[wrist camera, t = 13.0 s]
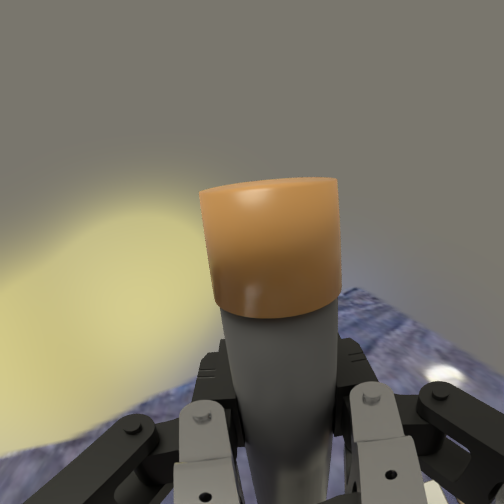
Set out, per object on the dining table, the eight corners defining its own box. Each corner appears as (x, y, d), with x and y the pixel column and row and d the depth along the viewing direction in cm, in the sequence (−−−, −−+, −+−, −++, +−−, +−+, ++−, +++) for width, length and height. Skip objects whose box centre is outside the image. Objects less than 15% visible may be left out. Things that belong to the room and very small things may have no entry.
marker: (257, 535, 10) (186, 199, 6) (256, 482, 13) (208, 186, 9) (332, 527, 10) (355, 183, 6) (322, 475, 13) (321, 175, 9)
